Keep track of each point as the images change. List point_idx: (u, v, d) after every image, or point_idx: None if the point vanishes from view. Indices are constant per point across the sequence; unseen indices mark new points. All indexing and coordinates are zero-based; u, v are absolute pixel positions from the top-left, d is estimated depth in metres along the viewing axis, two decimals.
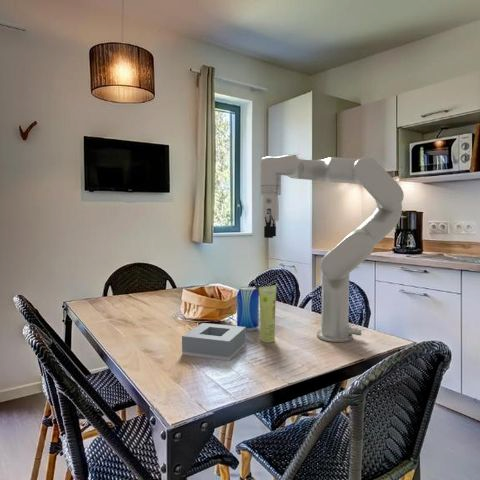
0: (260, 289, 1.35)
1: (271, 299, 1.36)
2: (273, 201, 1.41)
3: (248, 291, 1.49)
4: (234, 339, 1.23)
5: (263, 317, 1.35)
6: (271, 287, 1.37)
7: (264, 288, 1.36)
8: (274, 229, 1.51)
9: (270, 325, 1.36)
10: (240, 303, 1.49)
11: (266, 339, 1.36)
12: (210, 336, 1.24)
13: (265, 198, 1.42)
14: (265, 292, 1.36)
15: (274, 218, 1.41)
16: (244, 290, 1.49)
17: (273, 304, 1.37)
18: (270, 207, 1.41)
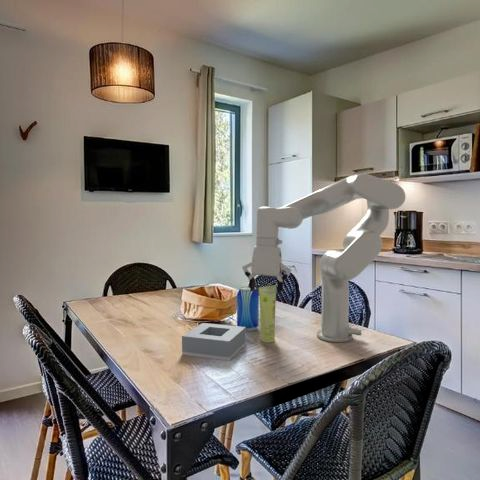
0: (260, 289, 1.35)
1: (271, 299, 1.36)
2: None
3: (248, 291, 1.49)
4: (234, 339, 1.23)
5: (263, 317, 1.35)
6: (271, 287, 1.37)
7: (264, 288, 1.36)
8: (254, 282, 1.39)
9: (270, 325, 1.36)
10: (240, 303, 1.49)
11: (266, 339, 1.36)
12: (210, 336, 1.24)
13: (278, 252, 1.33)
14: (265, 292, 1.36)
15: (281, 272, 1.37)
16: (244, 290, 1.49)
17: (273, 304, 1.37)
18: (281, 261, 1.35)
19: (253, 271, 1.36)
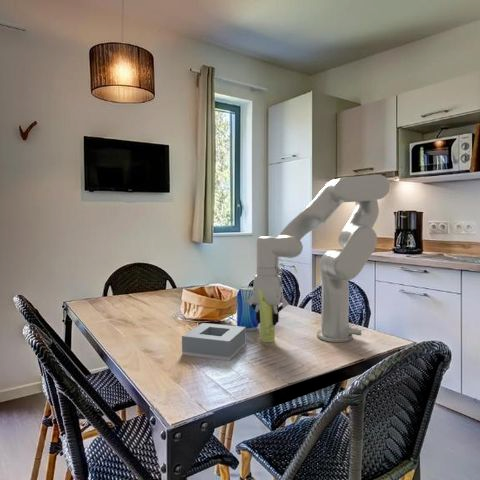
0: (259, 289, 1.35)
1: None
2: (281, 283, 1.37)
3: (248, 291, 1.49)
4: (234, 339, 1.23)
5: (263, 317, 1.35)
6: None
7: None
8: None
9: (270, 325, 1.36)
10: (240, 303, 1.49)
11: (266, 339, 1.36)
12: (210, 336, 1.24)
13: (279, 281, 1.34)
14: None
15: None
16: (244, 290, 1.49)
17: None
18: (281, 290, 1.36)
19: (254, 300, 1.37)
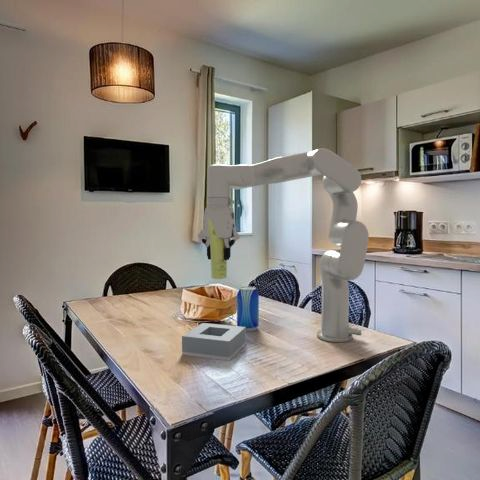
0: (209, 221, 1.26)
1: None
2: (234, 216, 1.27)
3: (248, 291, 1.49)
4: (234, 339, 1.23)
5: (213, 251, 1.26)
6: None
7: None
8: None
9: (221, 260, 1.26)
10: (240, 303, 1.49)
11: (216, 275, 1.26)
12: (210, 336, 1.24)
13: (230, 212, 1.24)
14: None
15: None
16: (244, 290, 1.49)
17: None
18: (233, 222, 1.26)
19: (204, 234, 1.27)
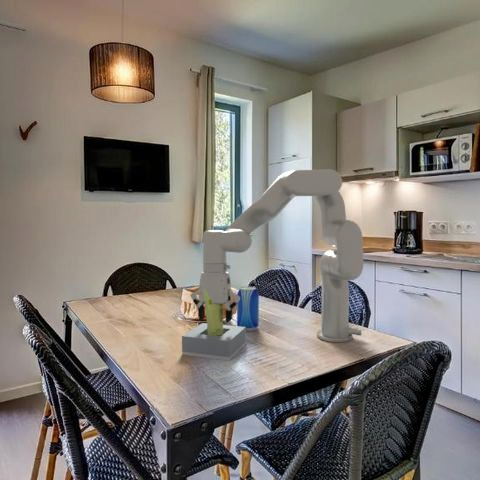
0: (205, 291, 1.26)
1: None
2: None
3: (248, 291, 1.49)
4: (234, 339, 1.23)
5: (209, 321, 1.27)
6: None
7: None
8: (204, 310, 1.31)
9: (217, 329, 1.27)
10: (240, 303, 1.49)
11: None
12: (210, 336, 1.24)
13: (226, 278, 1.25)
14: None
15: (231, 298, 1.29)
16: (244, 290, 1.49)
17: (220, 307, 1.28)
18: (229, 287, 1.27)
19: (200, 299, 1.28)
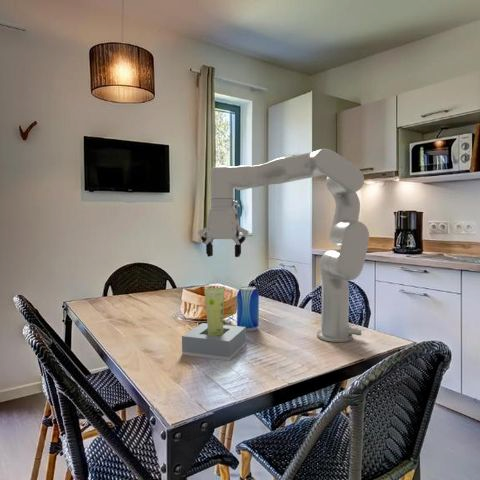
0: (206, 291, 1.26)
1: (218, 302, 1.28)
2: None
3: (248, 291, 1.49)
4: (234, 339, 1.23)
5: (209, 321, 1.27)
6: (219, 289, 1.29)
7: (210, 290, 1.27)
8: (212, 248, 1.32)
9: (218, 330, 1.27)
10: (240, 303, 1.49)
11: None
12: (210, 336, 1.24)
13: (234, 213, 1.27)
14: (212, 295, 1.27)
15: None
16: (244, 290, 1.49)
17: (221, 307, 1.28)
18: (237, 223, 1.28)
19: (209, 235, 1.29)
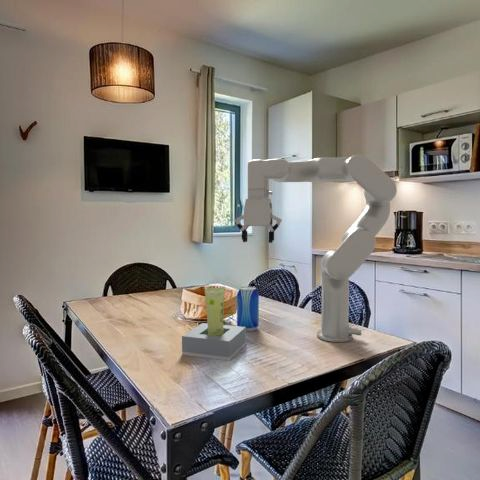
0: (206, 291, 1.26)
1: (218, 302, 1.28)
2: (271, 206, 1.41)
3: (248, 291, 1.49)
4: (234, 339, 1.23)
5: (210, 321, 1.27)
6: (219, 289, 1.29)
7: (211, 290, 1.27)
8: (246, 234, 1.45)
9: (218, 330, 1.27)
10: (240, 303, 1.49)
11: None
12: (210, 336, 1.24)
13: (268, 202, 1.39)
14: (212, 295, 1.27)
15: (272, 223, 1.42)
16: (244, 290, 1.49)
17: (221, 307, 1.28)
18: (271, 212, 1.40)
19: (245, 222, 1.41)
